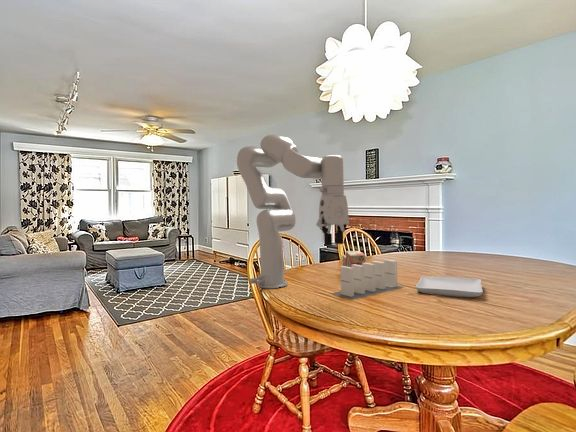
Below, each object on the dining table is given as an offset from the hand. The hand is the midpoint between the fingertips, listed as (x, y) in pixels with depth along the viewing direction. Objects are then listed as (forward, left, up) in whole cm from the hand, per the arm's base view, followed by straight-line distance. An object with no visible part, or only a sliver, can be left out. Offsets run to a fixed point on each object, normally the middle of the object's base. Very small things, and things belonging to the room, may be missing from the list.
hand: (333, 243), depth 120 cm
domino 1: (+6, 0, -19) cm, 20 cm away
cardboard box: (+28, +19, -20) cm, 39 cm away
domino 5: (+28, -1, -19) cm, 34 cm away
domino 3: (+17, 0, -19) cm, 25 cm away
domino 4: (+22, 0, -19) cm, 29 cm away
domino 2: (+11, 0, -19) cm, 22 cm away
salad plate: (+40, -18, -20) cm, 48 cm away
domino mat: (+17, 0, -19) cm, 25 cm away
